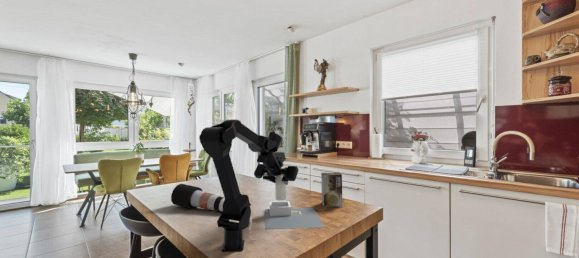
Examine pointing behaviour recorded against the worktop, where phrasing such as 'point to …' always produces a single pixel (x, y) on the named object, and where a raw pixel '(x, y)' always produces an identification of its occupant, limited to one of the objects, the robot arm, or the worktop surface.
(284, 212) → the board
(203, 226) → the worktop surface
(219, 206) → the telephoto camera lens
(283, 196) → the white cylindrical bottle
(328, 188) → the coffee box
